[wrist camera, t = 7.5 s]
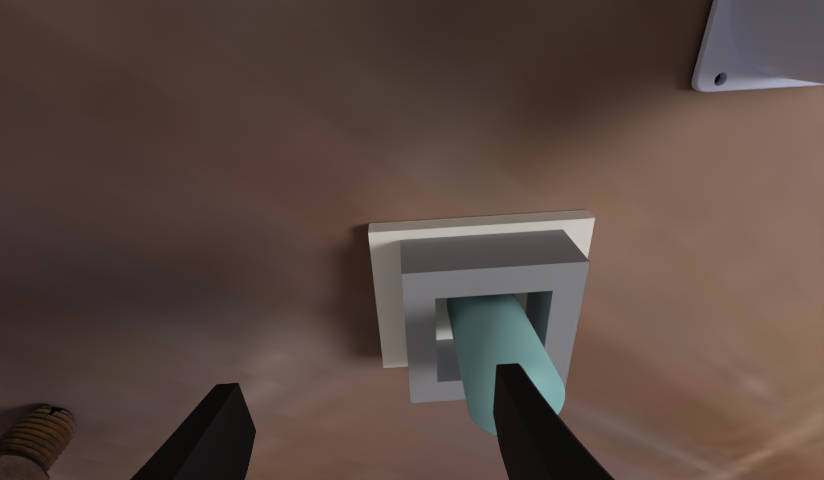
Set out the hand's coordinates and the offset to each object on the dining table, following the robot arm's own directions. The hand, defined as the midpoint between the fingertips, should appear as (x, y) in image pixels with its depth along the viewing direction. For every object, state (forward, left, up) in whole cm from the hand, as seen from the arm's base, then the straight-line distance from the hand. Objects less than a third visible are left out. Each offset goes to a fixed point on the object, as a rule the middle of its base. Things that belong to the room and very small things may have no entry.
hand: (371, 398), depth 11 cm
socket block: (-5, +4, -10) cm, 12 cm away
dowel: (-5, +4, -9) cm, 11 cm away
